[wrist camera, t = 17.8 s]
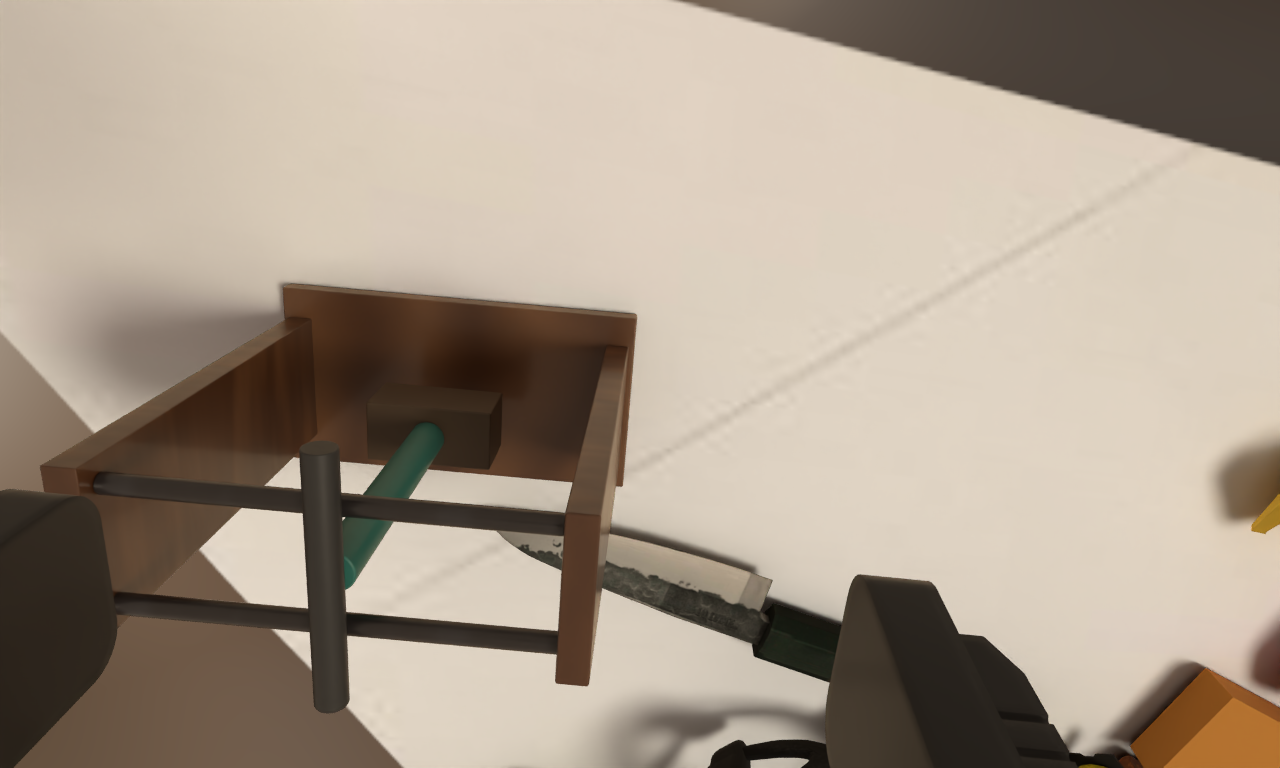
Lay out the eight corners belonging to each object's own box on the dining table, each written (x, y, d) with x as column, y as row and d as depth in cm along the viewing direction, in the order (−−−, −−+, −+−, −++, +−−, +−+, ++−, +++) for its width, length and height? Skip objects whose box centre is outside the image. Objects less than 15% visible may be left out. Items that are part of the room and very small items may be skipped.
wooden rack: (300, 450, 49) (67, 677, 30) (290, 283, 46) (21, 419, 27) (623, 479, 49) (594, 724, 30) (637, 314, 45) (614, 472, 27)
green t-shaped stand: (388, 495, 45) (240, 706, 29) (384, 315, 41) (216, 446, 26) (499, 505, 45) (410, 721, 29) (504, 326, 41) (407, 464, 26)
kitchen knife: (1058, 690, 50) (1016, 752, 51) (1042, 666, 52) (1003, 726, 53) (492, 491, 47) (466, 563, 48) (499, 474, 49) (474, 544, 50)
